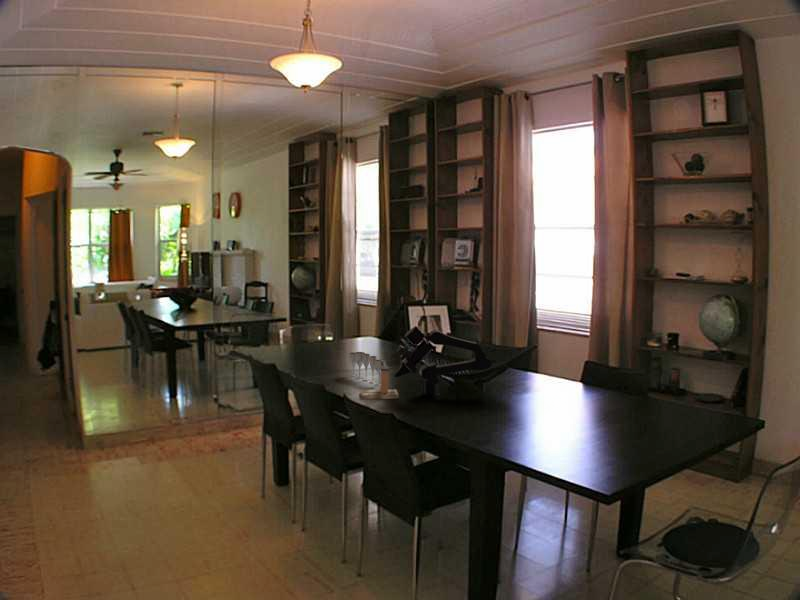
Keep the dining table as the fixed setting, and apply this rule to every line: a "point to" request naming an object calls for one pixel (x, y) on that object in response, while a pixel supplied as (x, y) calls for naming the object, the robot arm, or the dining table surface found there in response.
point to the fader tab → (384, 379)
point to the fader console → (379, 394)
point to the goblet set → (366, 364)
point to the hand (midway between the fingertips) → (395, 376)
